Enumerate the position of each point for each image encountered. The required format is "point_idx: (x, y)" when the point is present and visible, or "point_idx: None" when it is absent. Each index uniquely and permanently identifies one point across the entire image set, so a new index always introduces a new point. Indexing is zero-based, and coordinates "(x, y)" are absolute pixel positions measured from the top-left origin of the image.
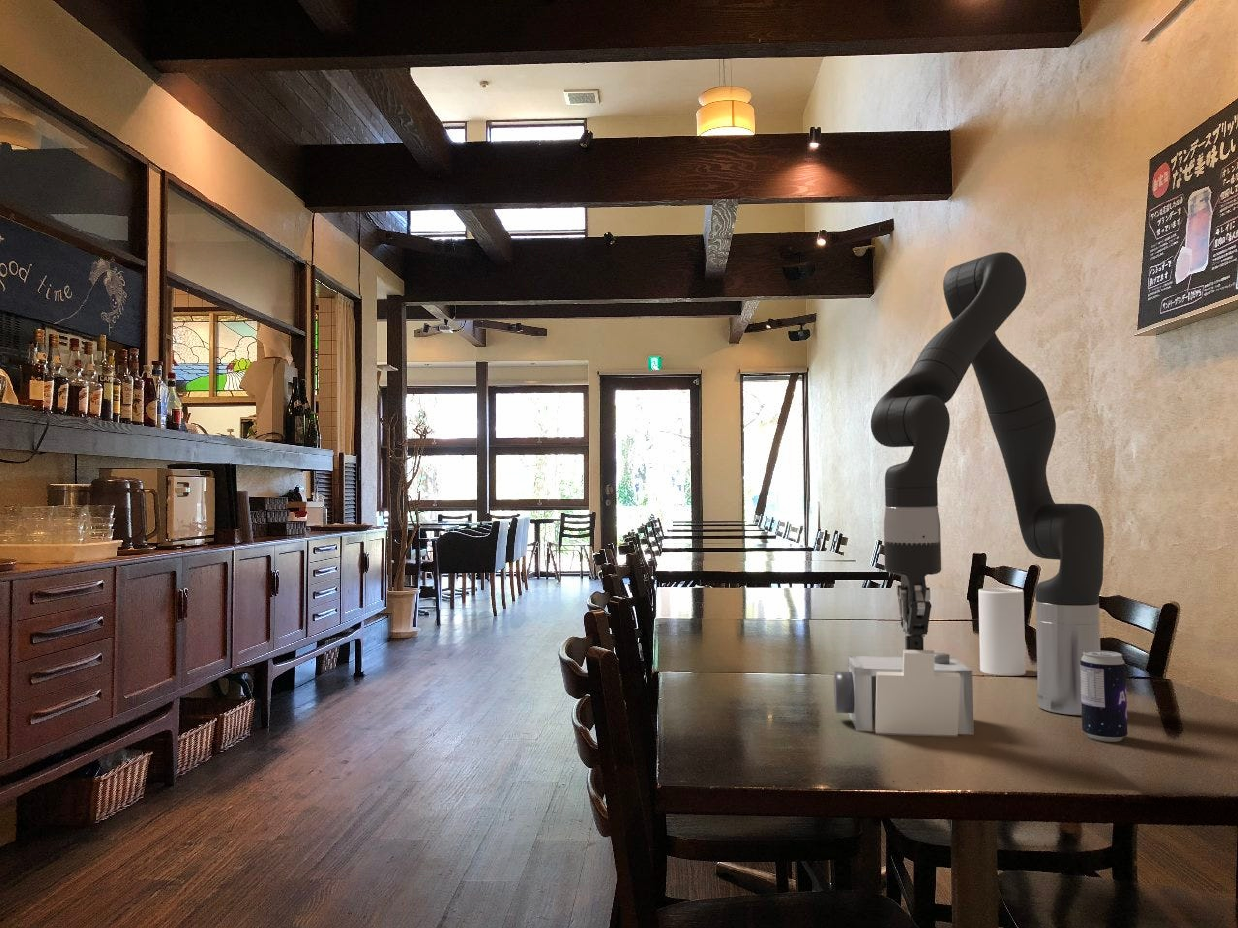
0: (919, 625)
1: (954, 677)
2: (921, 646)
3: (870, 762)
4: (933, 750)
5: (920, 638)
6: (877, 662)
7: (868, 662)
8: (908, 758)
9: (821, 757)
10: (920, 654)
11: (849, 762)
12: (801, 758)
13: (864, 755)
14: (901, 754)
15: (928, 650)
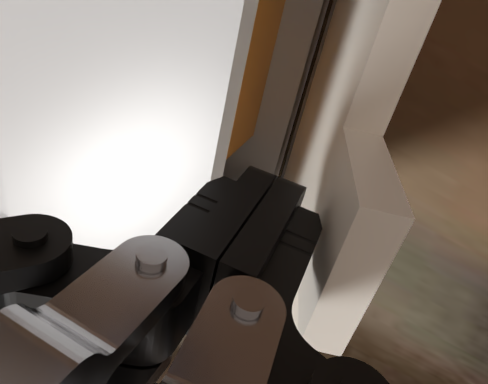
0: (152, 326)
1: (430, 20)
2: (276, 247)
3: (467, 279)
4: (415, 68)
5: (292, 318)
6: (79, 200)
7: (81, 228)
8: (468, 179)
9: (393, 340)
10: (376, 288)
11: (450, 316)
12: (389, 371)
13: (405, 260)
14: (425, 176)
15: (351, 236)
